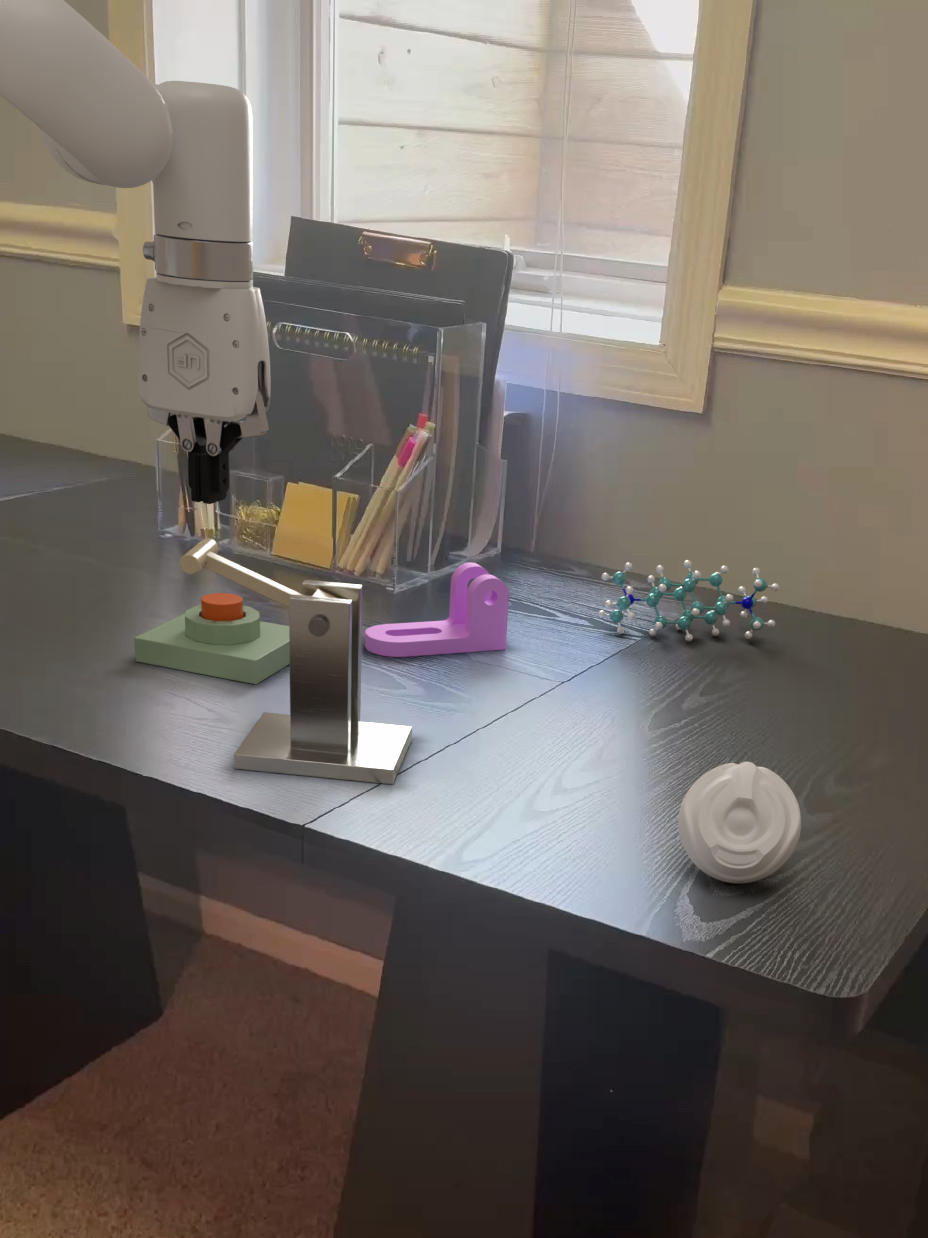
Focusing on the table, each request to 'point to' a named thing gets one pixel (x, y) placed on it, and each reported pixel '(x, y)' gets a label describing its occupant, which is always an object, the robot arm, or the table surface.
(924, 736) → the table surface
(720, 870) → the motion sensor
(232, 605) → the button
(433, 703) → the table surface
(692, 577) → the molecule model
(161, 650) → the button box
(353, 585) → the bracket
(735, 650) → the table surface
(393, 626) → the bracket
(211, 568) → the lever
